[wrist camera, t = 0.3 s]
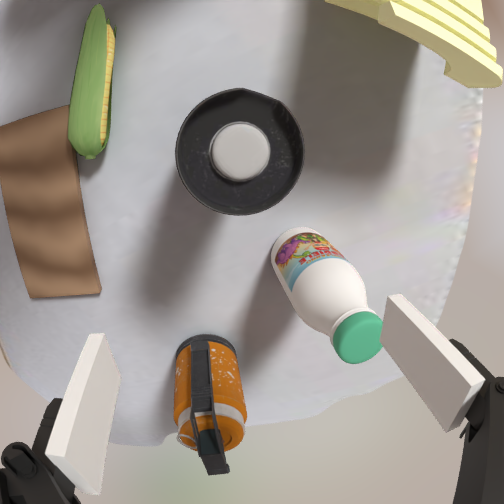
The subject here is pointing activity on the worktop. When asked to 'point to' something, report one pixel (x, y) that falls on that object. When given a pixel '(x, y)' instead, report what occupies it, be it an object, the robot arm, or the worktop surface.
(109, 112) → the edible corn
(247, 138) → the travel mug
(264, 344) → the worktop surface
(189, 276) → the worktop surface
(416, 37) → the slatted curved stool
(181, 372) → the canister
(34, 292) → the serving board
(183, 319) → the worktop surface
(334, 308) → the milk bottle
